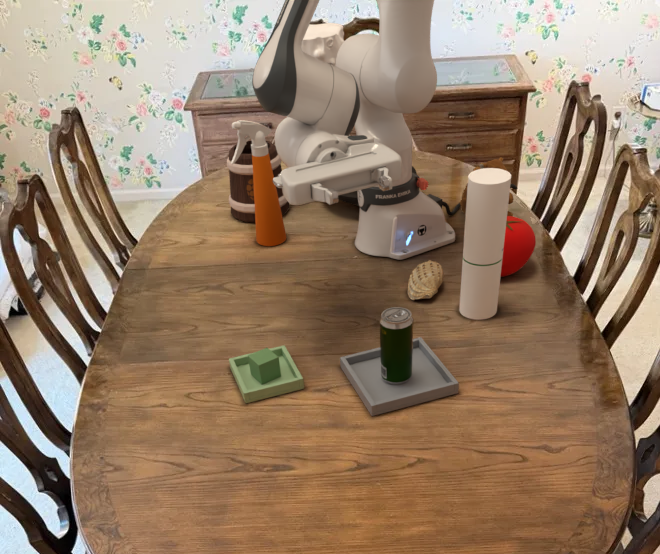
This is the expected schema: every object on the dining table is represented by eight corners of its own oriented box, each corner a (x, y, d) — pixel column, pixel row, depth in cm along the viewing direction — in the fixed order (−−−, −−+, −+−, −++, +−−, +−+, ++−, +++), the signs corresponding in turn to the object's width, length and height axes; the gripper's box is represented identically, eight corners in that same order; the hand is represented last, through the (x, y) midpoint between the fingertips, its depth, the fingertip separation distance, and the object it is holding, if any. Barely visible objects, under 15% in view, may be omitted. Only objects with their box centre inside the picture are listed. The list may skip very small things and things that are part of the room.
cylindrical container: (499, 302, 140) (514, 169, 123) (493, 321, 136) (507, 185, 118) (463, 298, 142) (472, 166, 125) (455, 317, 138) (464, 182, 120)
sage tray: (285, 354, 133) (284, 344, 131) (304, 388, 125) (303, 378, 123) (230, 368, 131) (228, 358, 129) (245, 403, 123) (243, 393, 122)
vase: (284, 180, 192) (269, 39, 169) (296, 157, 203) (283, 22, 180) (347, 179, 189) (340, 36, 166) (356, 156, 200) (350, 19, 177)
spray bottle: (237, 245, 166) (216, 120, 148) (275, 230, 170) (260, 107, 152) (253, 255, 162) (234, 128, 143) (292, 239, 166) (279, 114, 147)
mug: (234, 228, 173) (223, 162, 162) (227, 204, 183) (217, 141, 172) (315, 215, 175) (309, 150, 164) (304, 192, 185) (298, 129, 174)
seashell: (448, 309, 146) (438, 268, 149) (452, 290, 140) (442, 248, 143) (410, 314, 145) (401, 273, 148) (413, 295, 139) (404, 253, 143)
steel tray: (420, 346, 132) (420, 336, 130) (458, 393, 121) (459, 382, 119) (340, 367, 129) (339, 357, 127) (371, 416, 118) (371, 406, 117)
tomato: (465, 285, 146) (468, 235, 139) (460, 256, 155) (463, 207, 148) (536, 282, 145) (544, 232, 137) (527, 253, 154) (534, 204, 146)
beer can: (393, 390, 122) (392, 327, 113) (374, 375, 125) (373, 313, 117) (418, 378, 124) (419, 315, 115) (399, 364, 127) (399, 302, 118)
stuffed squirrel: (484, 233, 162) (489, 172, 152) (446, 213, 171) (449, 154, 161) (519, 221, 165) (526, 161, 155) (480, 202, 174) (484, 143, 164)
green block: (270, 366, 129) (267, 347, 127) (281, 376, 127) (278, 356, 124) (250, 374, 128) (247, 355, 125) (261, 384, 126) (258, 365, 123)
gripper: (266, 158, 117) (298, 186, 108) (378, 132, 122) (418, 157, 113) (271, 197, 122) (302, 227, 113) (379, 171, 127) (417, 197, 117)
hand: (361, 192), depth 113 cm, fingers open, 8 cm apart
